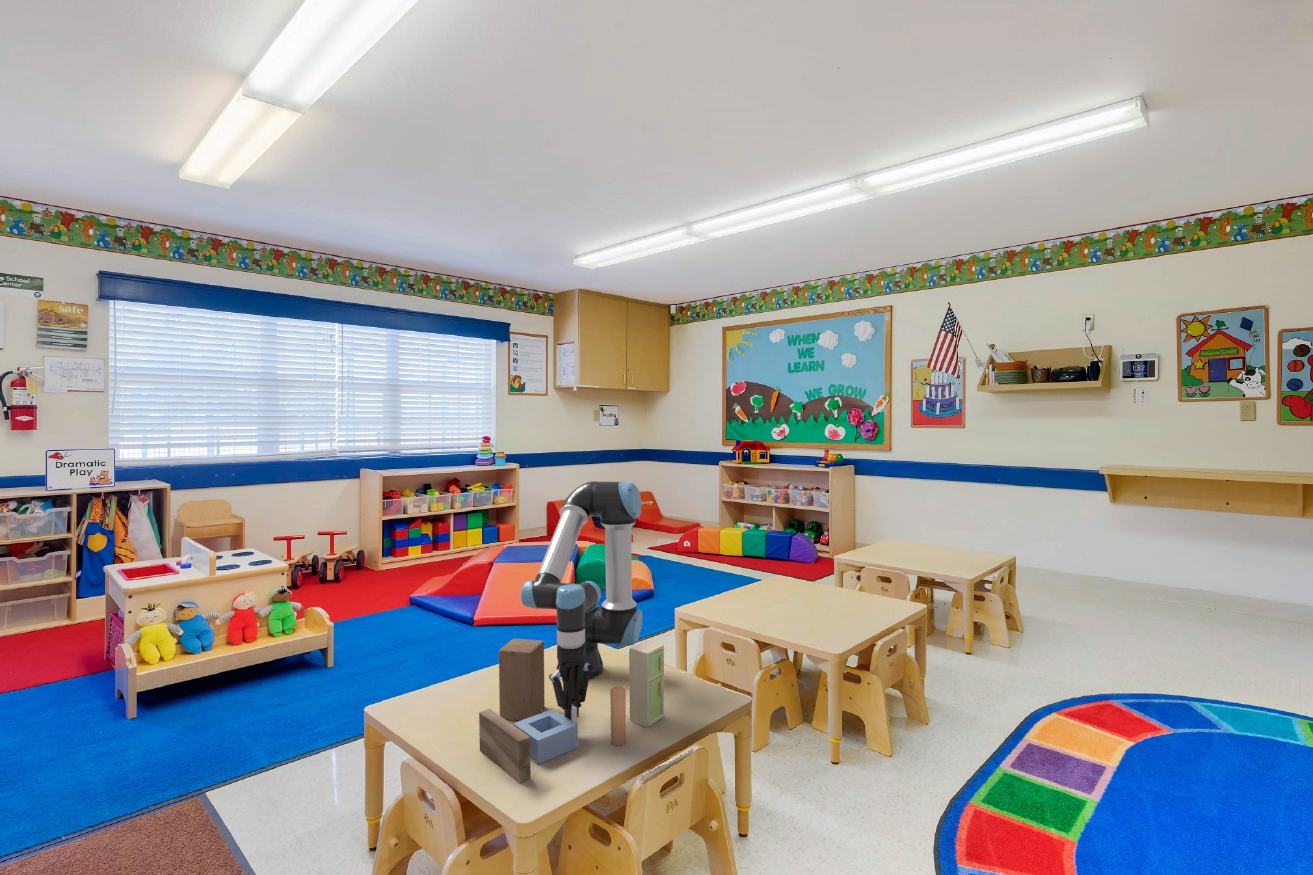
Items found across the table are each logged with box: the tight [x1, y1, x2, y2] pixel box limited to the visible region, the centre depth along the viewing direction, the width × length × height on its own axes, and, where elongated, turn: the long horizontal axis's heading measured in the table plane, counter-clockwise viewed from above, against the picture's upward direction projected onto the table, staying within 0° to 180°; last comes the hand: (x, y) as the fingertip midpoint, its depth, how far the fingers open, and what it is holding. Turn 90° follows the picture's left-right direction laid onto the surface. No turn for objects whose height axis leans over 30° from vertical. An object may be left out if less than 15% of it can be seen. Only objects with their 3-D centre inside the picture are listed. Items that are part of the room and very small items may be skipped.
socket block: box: [512, 708, 579, 765], centre depth 164 cm, size 12×12×6 cm
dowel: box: [609, 686, 627, 747], centre depth 166 cm, size 4×4×14 cm
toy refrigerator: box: [628, 640, 665, 728], centre depth 179 cm, size 8×7×21 cm
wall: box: [478, 708, 532, 784], centre depth 156 cm, size 3×20×10 cm, turn 42°
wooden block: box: [498, 638, 546, 722], centre depth 183 cm, size 10×10×20 cm
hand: (571, 730), depth 170 cm, fingers closed
